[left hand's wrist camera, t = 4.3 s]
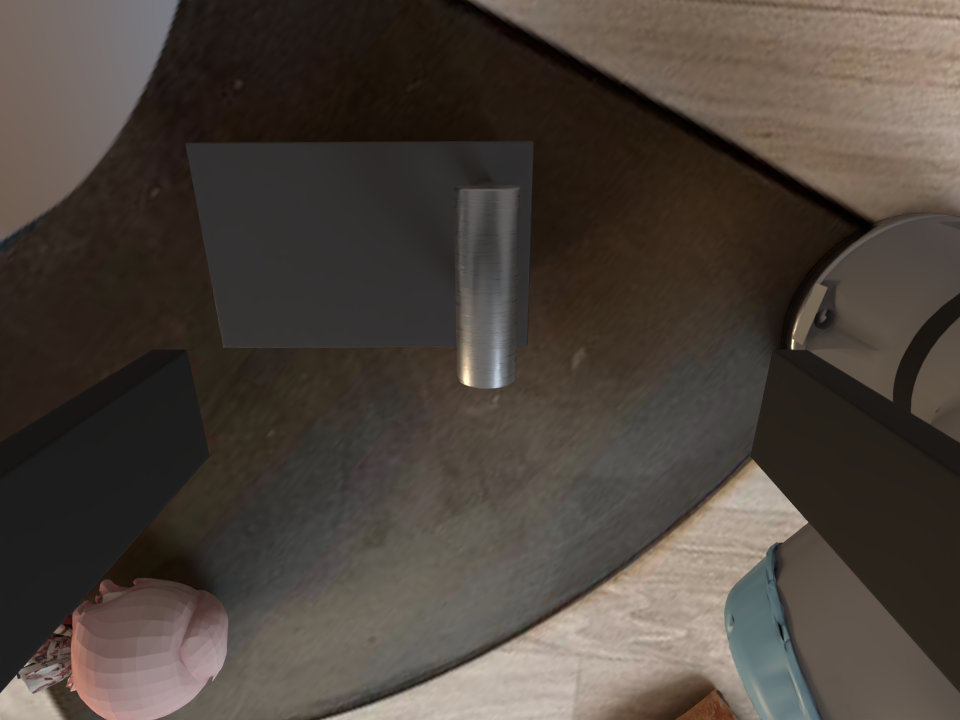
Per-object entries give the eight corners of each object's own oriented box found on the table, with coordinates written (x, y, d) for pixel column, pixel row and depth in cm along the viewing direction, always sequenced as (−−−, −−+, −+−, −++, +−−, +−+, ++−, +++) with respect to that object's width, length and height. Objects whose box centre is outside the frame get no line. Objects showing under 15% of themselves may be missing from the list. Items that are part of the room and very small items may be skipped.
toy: (102, 685, 49) (261, 683, 47) (-17, 786, 38) (184, 787, 37) (88, 556, 48) (249, 551, 47) (-37, 621, 37) (167, 617, 36)
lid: (531, 141, 23) (560, 136, 15) (525, 340, 26) (546, 426, 18) (196, 142, 23) (38, 138, 15) (232, 341, 26) (119, 428, 18)
